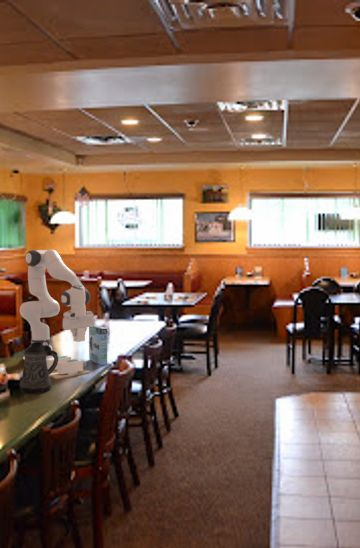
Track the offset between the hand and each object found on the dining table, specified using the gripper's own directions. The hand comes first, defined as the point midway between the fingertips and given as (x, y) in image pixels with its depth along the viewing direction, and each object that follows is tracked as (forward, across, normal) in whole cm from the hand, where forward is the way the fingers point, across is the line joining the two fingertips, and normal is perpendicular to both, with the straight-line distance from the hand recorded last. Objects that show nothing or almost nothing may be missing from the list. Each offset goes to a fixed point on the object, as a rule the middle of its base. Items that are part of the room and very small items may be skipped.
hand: (78, 335), depth 378 cm
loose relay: (+21, -5, -7) cm, 23 cm away
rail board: (+21, +11, 0) cm, 24 cm away
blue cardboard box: (+21, -20, -11) cm, 31 cm away
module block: (+3, 0, 0) cm, 3 cm away
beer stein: (+21, +40, +24) cm, 51 cm away
